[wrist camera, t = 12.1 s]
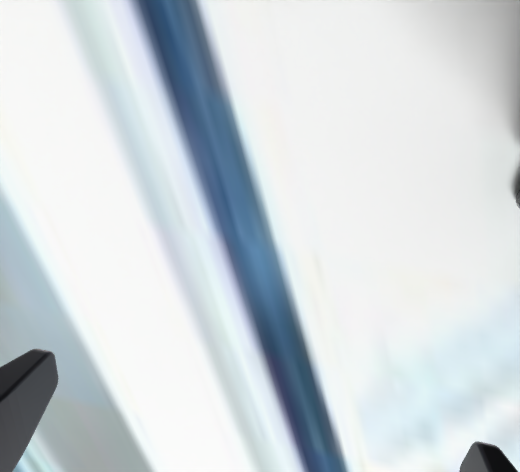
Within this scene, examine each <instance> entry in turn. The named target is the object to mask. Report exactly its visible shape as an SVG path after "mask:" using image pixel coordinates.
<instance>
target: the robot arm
mask: <svg viewBox="0 0 520 472" xmlns="http://www.w3.org/2000/svg"><path fill="white" fill-rule="evenodd" d="M516 203H517V206H518V207H519V208H520V191H519V193H518V195H517V198H516ZM57 384H58V372H57V366H56V360H55V355H54V354H53V353H52V352H51V351H46V350H42V349H33V350H30V351H28V352H27V353H25V354H23V355H21V356H20V357H18V358H16V359H14V360H12V361H11V362H9V363H7V364H5V365H4V366H2V367H0V472H12V471H13V470H14V468H15V467H16V465H17V463H18V462H19V460H20V458H21V457H22V455H23V453H24V451H25V449H26V447H27V446H28V444H29V442H30V440H31V438H32V436H33V434H34V432H35V430H36V428H37V426H38V424H39V422H40V420H41V418H42V416H43V414H44V412H45V410H46V408H47V405H48V403H49V401H50V399H51V397H52V395H53V393H54V391H55V389H56V387H57ZM460 472H518V471H517V470H516V468H515V467H514V466H513V465H512V463H511V462H510V461H509V460H508V458H507V457H506V456H505V455H504V453H503V452H502V451H501V450H500V449H499V448H498V447H497V446H495V445H492V444H488V443H483V442H475V443H473V444H472V446H471V448H470V449H469V451H468V453H467V455H466V457H465V458H464V460H463V462H462V464H461V467H460Z"/></svg>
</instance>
